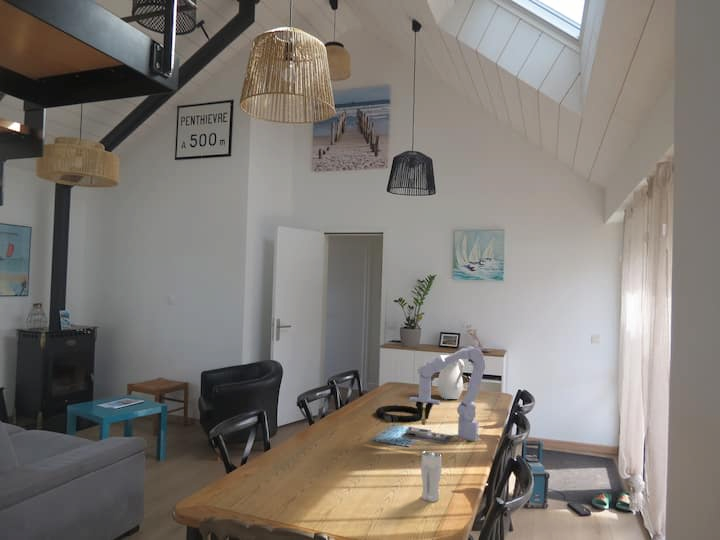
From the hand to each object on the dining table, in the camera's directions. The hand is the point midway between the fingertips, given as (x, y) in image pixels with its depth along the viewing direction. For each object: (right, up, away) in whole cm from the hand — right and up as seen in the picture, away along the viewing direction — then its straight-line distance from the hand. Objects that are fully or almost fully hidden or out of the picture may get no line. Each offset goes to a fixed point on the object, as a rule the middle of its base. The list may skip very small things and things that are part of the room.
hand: (423, 418), depth 247 cm
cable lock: (-9, -11, +40) cm, 42 cm away
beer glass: (-7, -7, -72) cm, 72 cm away
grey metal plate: (+1, -8, -1) cm, 9 cm away
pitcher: (+30, -14, +90) cm, 96 cm away
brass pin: (0, -3, 0) cm, 3 cm away
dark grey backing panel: (+1, -9, -1) cm, 10 cm away
